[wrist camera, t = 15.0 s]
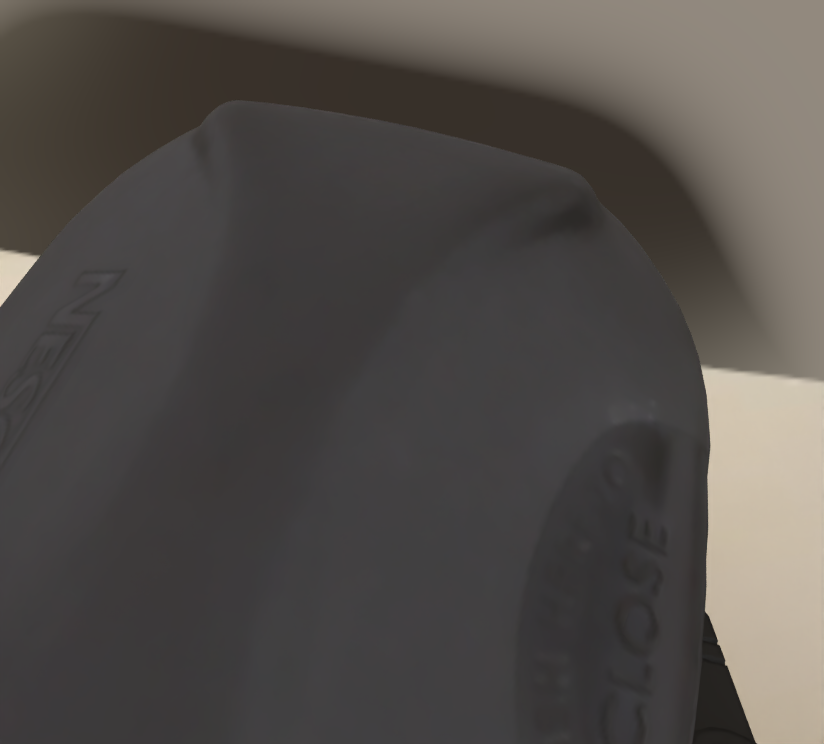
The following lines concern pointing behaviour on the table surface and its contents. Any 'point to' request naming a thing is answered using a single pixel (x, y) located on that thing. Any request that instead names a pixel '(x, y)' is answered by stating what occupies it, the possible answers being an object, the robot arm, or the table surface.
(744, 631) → the table surface
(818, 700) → the table surface
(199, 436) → the coffee jar
